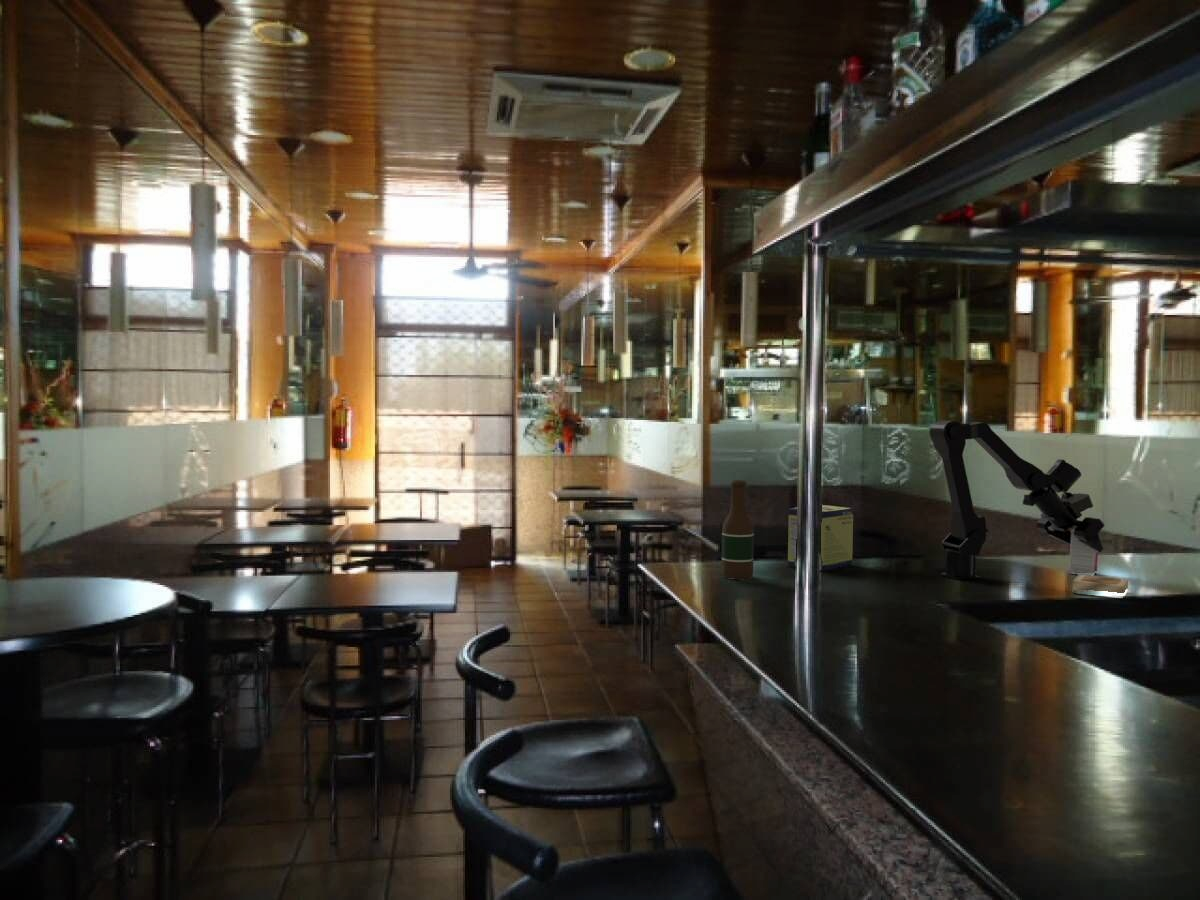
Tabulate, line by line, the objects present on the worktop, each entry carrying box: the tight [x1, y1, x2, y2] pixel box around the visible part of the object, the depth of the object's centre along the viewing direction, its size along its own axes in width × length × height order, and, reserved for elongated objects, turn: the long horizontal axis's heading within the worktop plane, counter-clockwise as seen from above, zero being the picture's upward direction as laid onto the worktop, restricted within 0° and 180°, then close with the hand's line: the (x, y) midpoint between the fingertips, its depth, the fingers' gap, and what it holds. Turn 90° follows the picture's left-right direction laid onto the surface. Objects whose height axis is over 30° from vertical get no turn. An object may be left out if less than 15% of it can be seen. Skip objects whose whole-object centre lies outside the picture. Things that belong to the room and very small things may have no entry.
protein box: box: [787, 504, 854, 572], centre depth 239 cm, size 10×16×16 cm
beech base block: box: [1072, 575, 1129, 593], centre depth 206 cm, size 10×10×3 cm
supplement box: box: [1068, 529, 1100, 573], centre depth 230 cm, size 6×6×12 cm
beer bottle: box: [721, 479, 755, 580], centre depth 221 cm, size 8×8×24 cm
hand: (1088, 548), depth 230 cm, fingers open, 9 cm apart
